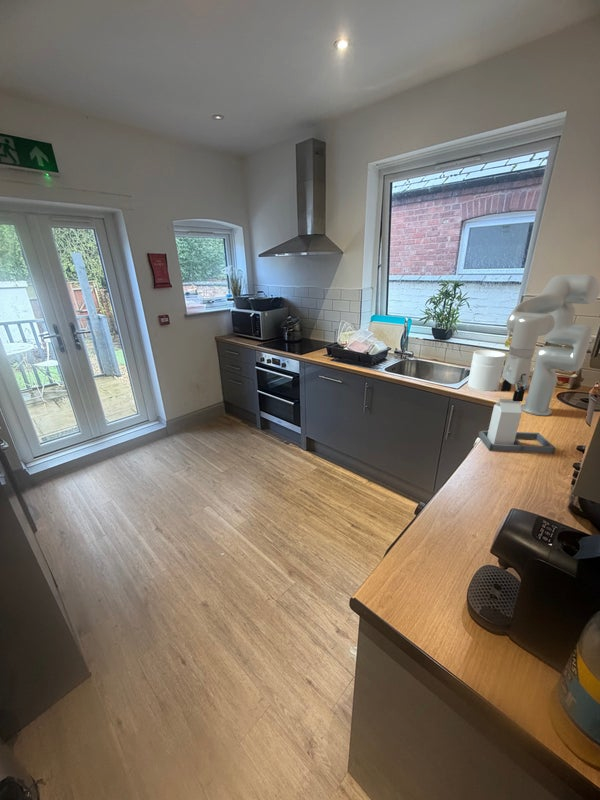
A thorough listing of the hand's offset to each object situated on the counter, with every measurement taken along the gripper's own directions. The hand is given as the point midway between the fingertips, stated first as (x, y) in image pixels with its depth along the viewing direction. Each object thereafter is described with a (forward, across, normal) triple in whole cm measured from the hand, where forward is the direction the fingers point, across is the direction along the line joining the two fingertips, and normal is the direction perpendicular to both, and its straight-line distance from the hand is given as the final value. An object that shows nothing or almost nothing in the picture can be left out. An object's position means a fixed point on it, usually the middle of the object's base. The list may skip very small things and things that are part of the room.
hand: (511, 395), depth 123 cm
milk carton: (+20, +1, -1) cm, 20 cm away
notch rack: (+21, +1, +5) cm, 21 cm away
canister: (+23, -68, +18) cm, 74 cm away
